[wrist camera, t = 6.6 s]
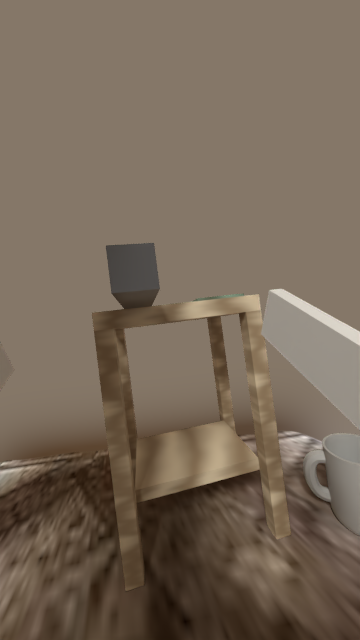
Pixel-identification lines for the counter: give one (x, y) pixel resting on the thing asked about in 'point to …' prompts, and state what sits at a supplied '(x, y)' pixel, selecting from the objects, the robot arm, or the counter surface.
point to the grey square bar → (133, 274)
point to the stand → (191, 443)
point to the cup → (338, 477)
